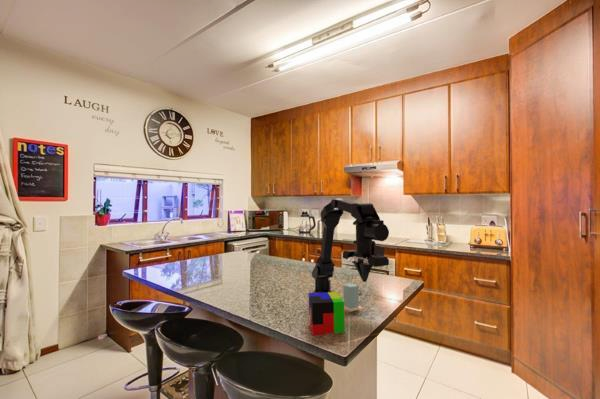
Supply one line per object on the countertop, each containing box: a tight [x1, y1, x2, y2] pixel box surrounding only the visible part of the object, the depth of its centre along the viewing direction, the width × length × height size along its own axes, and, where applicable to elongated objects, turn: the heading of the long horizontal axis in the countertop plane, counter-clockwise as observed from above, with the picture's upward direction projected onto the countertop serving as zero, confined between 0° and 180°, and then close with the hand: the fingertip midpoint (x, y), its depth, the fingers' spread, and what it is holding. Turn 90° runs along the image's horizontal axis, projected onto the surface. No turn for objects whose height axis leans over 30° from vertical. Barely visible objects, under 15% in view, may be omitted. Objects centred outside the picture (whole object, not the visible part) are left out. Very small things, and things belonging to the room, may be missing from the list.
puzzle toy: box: [308, 291, 346, 336], centre depth 94 cm, size 10×10×10 cm
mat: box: [341, 297, 366, 315], centre depth 113 cm, size 14×10×1 cm
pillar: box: [343, 282, 360, 312], centre depth 109 cm, size 4×4×9 cm
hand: (364, 281), depth 102 cm, fingers closed
